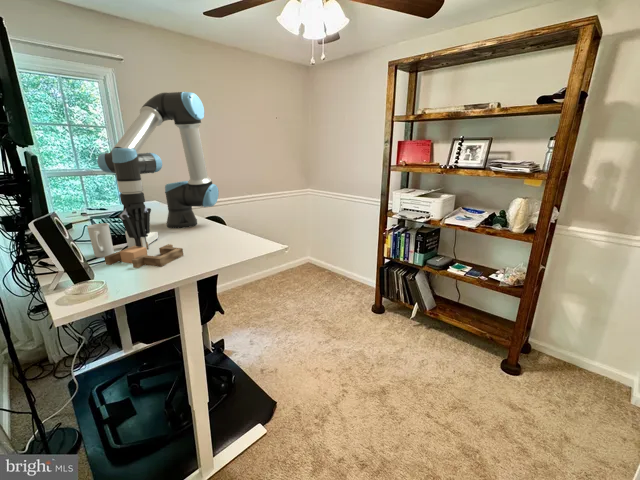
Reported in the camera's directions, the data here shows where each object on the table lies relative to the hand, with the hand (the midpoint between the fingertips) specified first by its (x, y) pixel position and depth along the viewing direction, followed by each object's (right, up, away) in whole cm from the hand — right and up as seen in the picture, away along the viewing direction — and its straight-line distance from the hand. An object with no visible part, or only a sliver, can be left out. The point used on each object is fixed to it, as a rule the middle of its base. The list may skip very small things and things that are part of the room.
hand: (143, 253), depth 116 cm
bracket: (-9, +3, +17) cm, 20 cm away
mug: (-16, -1, +1) cm, 16 cm away
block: (-1, -3, -3) cm, 4 cm away
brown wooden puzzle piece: (+3, -2, -1) cm, 4 cm away
